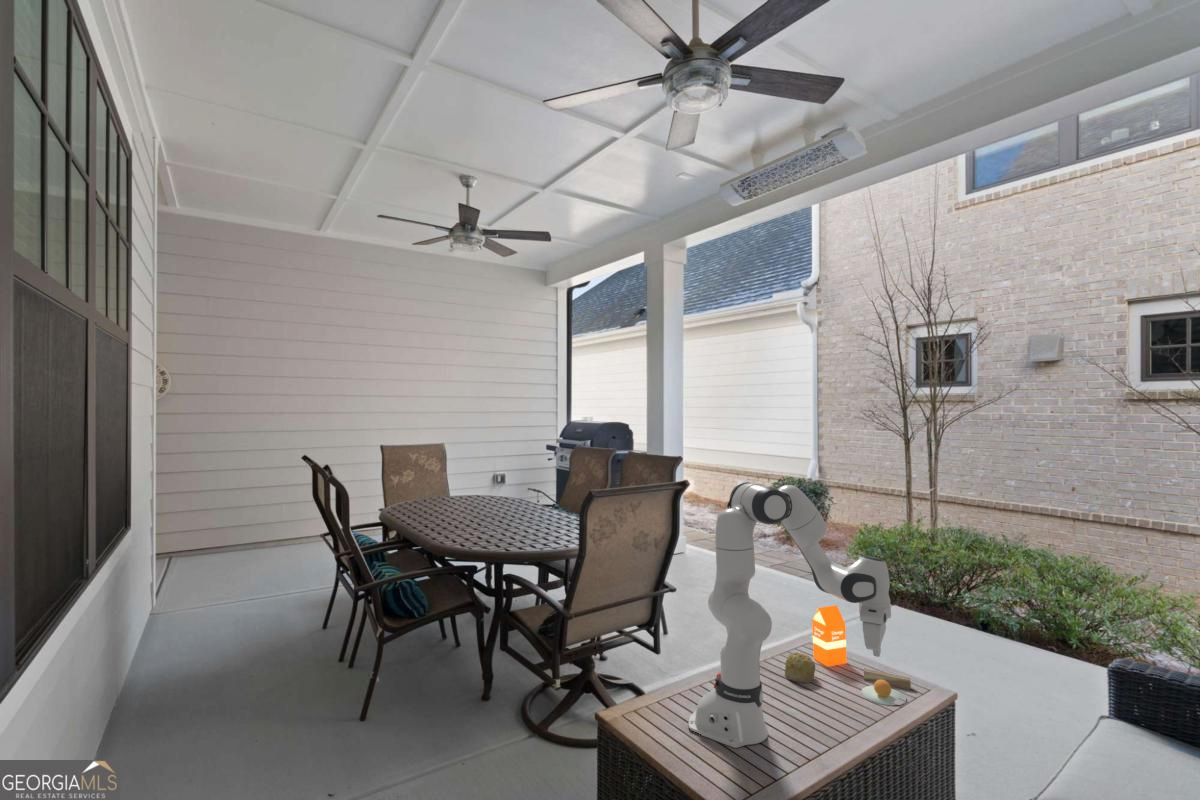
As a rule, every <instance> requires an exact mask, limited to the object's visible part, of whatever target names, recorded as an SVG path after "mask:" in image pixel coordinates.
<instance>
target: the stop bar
mask: <svg viewBox="0 0 1200 800" xmlns="http://www.w3.org/2000/svg"><path fill="white" fill-rule="evenodd" d="M863 680H864V681H868V682H873V683H875V682H876V681H877V680H885V681H887V682H888V683H889V685H890V686H892V687H896V688H901V689H905V688H906V689H905V690H909V689H912V686H911V685H912V683H911V682H912V681H911V677H906V676H902V675H897V674H892V673H888V672H883V671H877V670H872V669H867V668H864V669H863Z"/></svg>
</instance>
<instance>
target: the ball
mask: <svg viewBox="0 0 1200 800" xmlns="http://www.w3.org/2000/svg"><path fill="white" fill-rule="evenodd" d="M873 683H874V684H873V686H874V689H875V691H876V693H877V694H878V695H880V696H882V697H887V696H889V695H890V693H891V689H892V687H891V685H889V683H888V682H887V681H885V680H877V681H876V682H873Z"/></svg>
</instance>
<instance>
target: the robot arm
mask: <svg viewBox="0 0 1200 800" xmlns="http://www.w3.org/2000/svg"><path fill="white" fill-rule="evenodd" d="M726 506H727V508H725V509H723V510H722V511H720V512H719V514H718V515H717V517H716V518H717V519H716V525H715V535H714V536H715V539H714V540H715V543H714V544H715V561H716V576H715V582H714V586H713V590H712V591H711V593H710V594H709V597H708V600H707V605H708V609H709V611H710V613H711V614H712V616H713V618H714V619H715V620H716V621H717V622H719V623H720V624H721V625H722V626H724V627H725V629H726V633H727V635H726V636H727V637H726V641H725V642H726V643H725V646H723V647H722V648H721V651H720V671H718V672H717V674H716V678H715V679H714V681H713V689H711V690H710V691H708V692H707V693H705V694H704V695H703V696H701V698H700V700H699V701H698V703H697V707H696V709H695V711H693V712H692V713H691V715H690V717H689V719H688V724H687V726H688V725H689V727H688V729H689V728H690V729H691V730H693V731H695V732H697V733H699V734H698V735H700V734H701V735H700V736H703V737H706V738H709V739H710V740H713V741H715V742H717V743H718V742H719V743H721V744H724V745H726V746H728V747H731V748H734V749H737V748H738V749H739V748H741V747H743V746H749V745H750V746H751V745H756V744H760V743H762V742H764V741H765V740H766V739H767V738H768V735H769V733H768V729H767V725H766V723H765V722H766V721H765V716H764V711H763V706H762V704H763V695H764V694H763V693H764V691H763V686H762V685H763V684H762V681H761V671H760V670H761V669H760V668H761V665H760V664H761V663H760V661H761V660H760V658H761V651H762V645H763V643H764V642H765V641H766V640H767V639H768V637H769V636H770V635H771V632H772V630H773V621H772V620H773V619H772V617H771V616H770V614H769V613H768V611H767V610H766V609H765V608H764V607H763V605H761V604H760V603H759V602H758V601H756V600H754V599H752V598H750V594H749V587H750V582H751V579H753V577H754V576H755V575H756V574H755V573H756V563H755V562H756V561H755V559H756V558H755V546H754V545H755V542H754V530H755V527H756V525H757V523H761V524H765V525H776V524H779V523H780V522H781V524H782V526H784V528H785V530H786V531H787V532H788V534H789V535H790V537H792V539H793V541H794V543H795V545H796V546H797V548H798V549H799V551H800V553H801V555H802V556H803V557H804V559H805V561H806V563H807V564H808V566H809V568H810V569H811V573H812V578H813V581H814V583H815V585H816V587H817V588H818V589H819V590H820V591H822V592H824V593H827V594H829V595H833V596H834V597H837V598H838V599H840V600H844V601H846V602H848V603H851V604H852V603H853V604H858V613H859V620H860V622H862V623H861V624H862V625H861V626H862V633H863V639H864V646H865V648H866V650H871V651H872V654H873V656H874V657H878V658H879V657H881V656H880V655H881V652H882V650H881V647H882V642H883V640H884V636H885V633H886V629H887V625H886V624H887V622H888V619H891V618H892V607H891V598H890V594H889V591H890V586H891V585H890V574H889V568H888V565H887V563H886V561H885V560H883V559H881V558H879V557H875V556H872V555H866V554H863V555H862V554H861V555H859V556H858V559H857V560H855V562H854V563H852V564H851V565H849V566H843V565H841V564H839V563H837V562H835V561H833V560H831V559H830V558H829V557H828V556H827V554H826V552H825V551H824V549H823V548H822V546H821V544H820V543H819V542H821V540H822V539H823V538H824V536H825V535H826V531H827V524H826V522H825V520H824V518H823V516H822V514H821V512H819V510H818V508H817V507H816V505H815V504H814V503H813V501H811V500H810V498H809V497H808V496H807V495H806V494H805V493H804V492H803V491H802V490H801V489H799V487H797V486H795V485H794V484H786V485H782V486H779V488H775V487H772V486H771V487H770V486H767V485H765V484H761V483H756V482H755V483H754V482H741V483H739V484H737V485H736V486H734V488H733V489H732V490H731V492H730V496H729V500H728V503H727V505H726ZM691 723H693V724H691ZM695 732H694V733H695ZM697 733H696V734H697Z"/></svg>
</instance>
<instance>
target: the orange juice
mask: <svg viewBox="0 0 1200 800" xmlns="http://www.w3.org/2000/svg"><path fill="white" fill-rule="evenodd" d="M811 624H812V625H811V628H812V646H813V647H812V648H813V649H812V651H813V653H812V654H813V659H814V660H815V659H816V660H815V661H817V662H819V663H821V664H822V665H824V666H826V667H833V666H838V665H845V664H848V662H847V661H848V659H847V639H846V638H847V637H846V623H845V620H844V618H843V616H842V613H841V611H840V610H839V606H838V605H829V606H821V607H818V608H817V610H816V612H815V614H814V616H813V617H812V619H811Z"/></svg>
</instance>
